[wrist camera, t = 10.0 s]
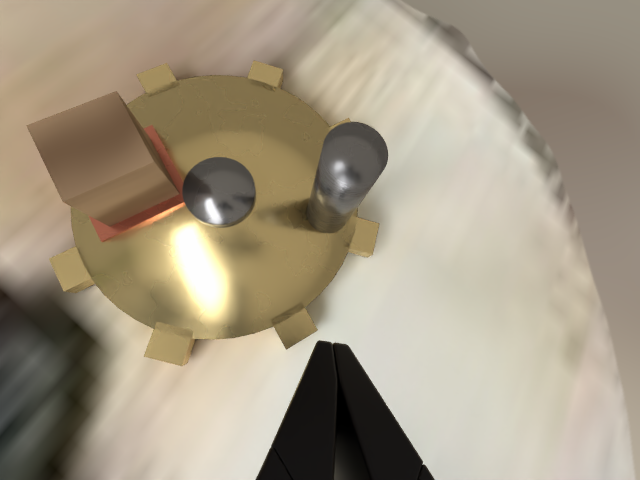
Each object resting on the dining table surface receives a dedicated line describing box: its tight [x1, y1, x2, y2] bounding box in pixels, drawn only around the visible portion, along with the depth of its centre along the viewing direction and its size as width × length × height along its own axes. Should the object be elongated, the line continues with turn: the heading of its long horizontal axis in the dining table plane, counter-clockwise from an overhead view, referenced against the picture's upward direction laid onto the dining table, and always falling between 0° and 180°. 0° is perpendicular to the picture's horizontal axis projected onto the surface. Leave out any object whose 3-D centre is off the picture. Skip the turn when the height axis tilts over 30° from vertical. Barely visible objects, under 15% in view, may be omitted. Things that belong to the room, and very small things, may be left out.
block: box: [27, 91, 180, 227], centre depth 19 cm, size 4×4×4 cm
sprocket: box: [49, 61, 388, 366], centre depth 18 cm, size 21×21×10 cm
